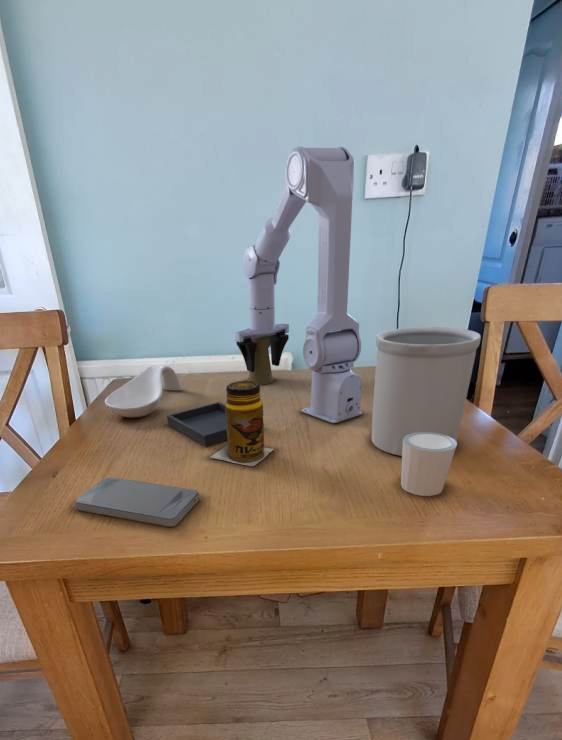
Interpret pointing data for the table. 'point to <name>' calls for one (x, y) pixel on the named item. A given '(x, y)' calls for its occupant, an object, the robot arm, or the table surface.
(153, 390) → the spoon rest
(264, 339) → the pepper mill
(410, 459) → the white cup
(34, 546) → the table surface
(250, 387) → the condiment
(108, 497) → the phone
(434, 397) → the utensil holder
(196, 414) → the slate tray
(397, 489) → the table surface
